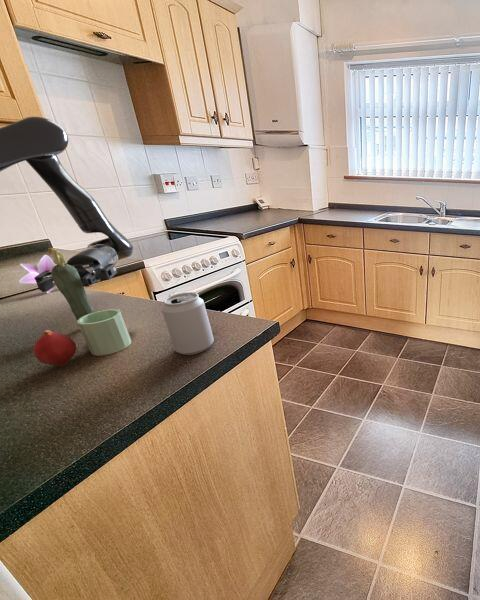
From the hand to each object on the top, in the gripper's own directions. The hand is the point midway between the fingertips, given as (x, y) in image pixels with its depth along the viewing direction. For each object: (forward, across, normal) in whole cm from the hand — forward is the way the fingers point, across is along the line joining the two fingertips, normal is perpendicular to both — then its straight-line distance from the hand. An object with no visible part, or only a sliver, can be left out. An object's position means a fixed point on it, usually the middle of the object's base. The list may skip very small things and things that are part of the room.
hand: (64, 285), depth 75 cm
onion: (+15, +1, +12) cm, 20 cm away
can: (+19, +25, +12) cm, 34 cm away
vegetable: (-2, 0, +12) cm, 12 cm away
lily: (-39, -20, +12) cm, 46 cm away
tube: (+11, +8, +12) cm, 18 cm away
